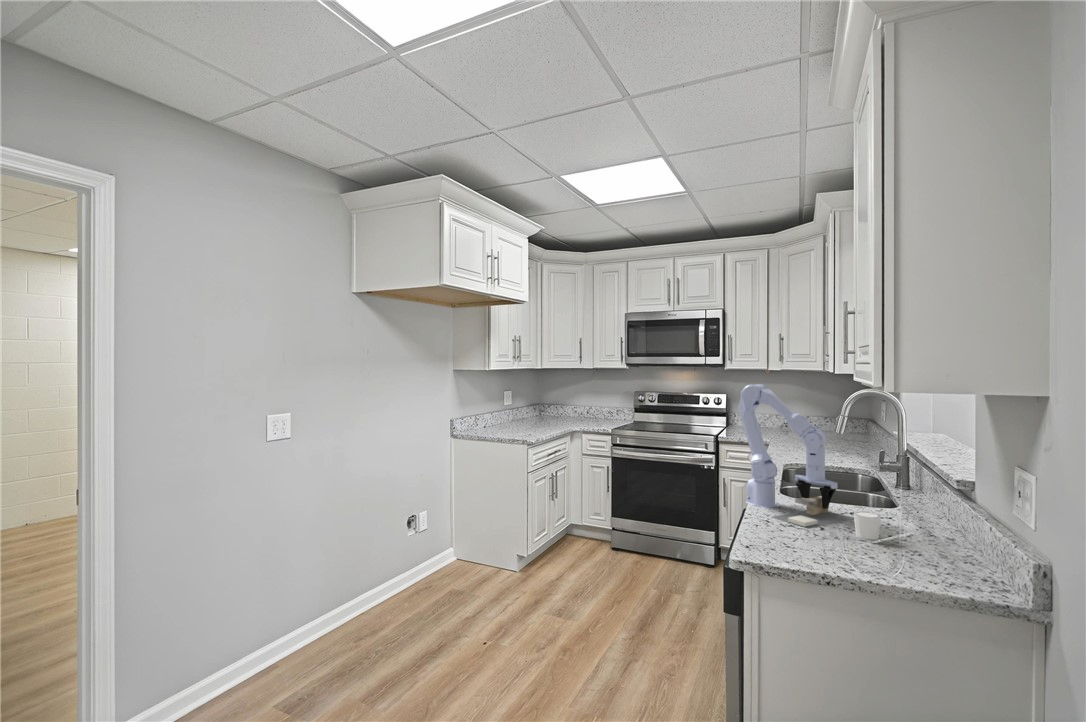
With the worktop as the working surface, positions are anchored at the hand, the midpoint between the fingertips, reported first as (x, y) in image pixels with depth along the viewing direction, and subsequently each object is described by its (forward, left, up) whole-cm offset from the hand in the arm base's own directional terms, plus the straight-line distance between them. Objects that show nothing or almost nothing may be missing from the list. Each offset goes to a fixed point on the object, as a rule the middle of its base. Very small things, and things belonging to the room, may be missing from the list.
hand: (815, 505), depth 178 cm
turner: (0, -1, -2) cm, 3 cm away
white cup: (+23, -9, -3) cm, 25 cm away
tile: (+6, -12, -2) cm, 13 cm away
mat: (+4, -6, -3) cm, 8 cm away
